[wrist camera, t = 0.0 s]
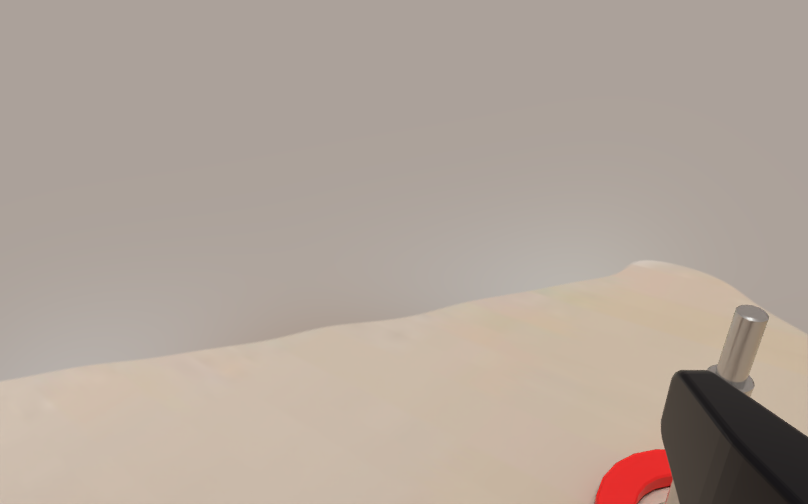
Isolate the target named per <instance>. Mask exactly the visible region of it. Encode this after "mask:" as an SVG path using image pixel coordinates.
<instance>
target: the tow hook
mask: <svg viewBox="0 0 808 504" xmlns="http://www.w3.org/2000/svg"><path fill="white" fill-rule="evenodd" d="M768 320H769V316H768V314H767V313H766V312H765V311H764V310H762V309H760V308H758V307H755V306H752V305H741V306H738V307H737V308H736V310H735V313H734V316H733V319H732V322H731V325H730V328H729V331H728V335H727V338H726V341H725V344H724V347H723V350H722V353H721V356H720V359H719V362H718V364H717V365H713V366H711V367H709V368H708V369H707V371H711V372H713V373H715V374H717V375H718V376H720V377H721V378H723V379H724V380H726V381H727V382H729V383H730V384H731V385H733V386H734V387H736V388H737V389H739V390H740V391H742V392H743V393H745V394H746V395H747V396H749V397H751V394H752V391H753V388H754V381H753V379H752V378H751V377H750V376H749V373H750V370H751V367H752V365H753V362H754V359H755V356H756V353H757V351H758V348H759V345H760V342H761V339H762V336H763V334H764V331H765V328H766V325H767V322H768ZM666 486H670V489H669V492H668V496H667V499H666V502H663V503H660V504H679V500H678V496H677V493H676V489H675V485H674V481H673V478H672V474H671V470H670V466H669V462H668V459H667V455H666V451H665V450H660V449H655V450H650V451H645V452H641V453H636V454H633V455H631V456H629V457H627V458H625V459H623V460H621V461H619V462H617V463H616V464H615V465H614V466H613V467H612V468H611V469H610V470H609V471H608V472H607V473H606V475H605V476H604V477H603V479H602V482H601V484H600V487H599V490H598V492H597V495H596V499H595V503H594V504H637V503H638V502H639V500H640V499H641V498H642V497H643V496H644V495H645V494H647V493H649V492H651V491H652V490H654V489H657V488H662V487H666Z"/></svg>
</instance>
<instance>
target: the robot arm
mask: <svg viewBox="0 0 808 504" xmlns="http://www.w3.org/2000/svg"><path fill="white" fill-rule="evenodd" d="M661 434H662V440H663V444H664V447H665V451H666V455H667V459H668V462H669V466H670V470H671V474H672V478H673V481H674V485H675V489H676V493H677V496H678V500H679V504H808V437H807V436H806V435H804V434H803V433H801V432H800V431H798V430H797V429H796V428H794V427H793V426H791V425H790V424H788V423H787V422H785V421H784V420H782V419H781V418H780V417H778V416H777V415H775V414H774V413H772V412H771V411H769V410H768V409H766V408H765V407H763V406H762V405H761V404H759V403H758V402H756V401H755V400H753V399H752V398H750V397H749V396H747V395H746V394H745V393H743V392H742V391H740V390H739V389H737V388H736V387H734V386H733V385H731V384H730V383H729V382H727V381H726V380H724V379H723V378H721V377H720V376H718V375H717V374H715V373H713V372H711V371H707V370H680V371H678V372H676V373H675V374H674V375H673V377H672V380H671V383H670V387H669V391H668V395H667V399H666V403H665V407H664V411H663V415H662V419H661Z"/></svg>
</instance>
